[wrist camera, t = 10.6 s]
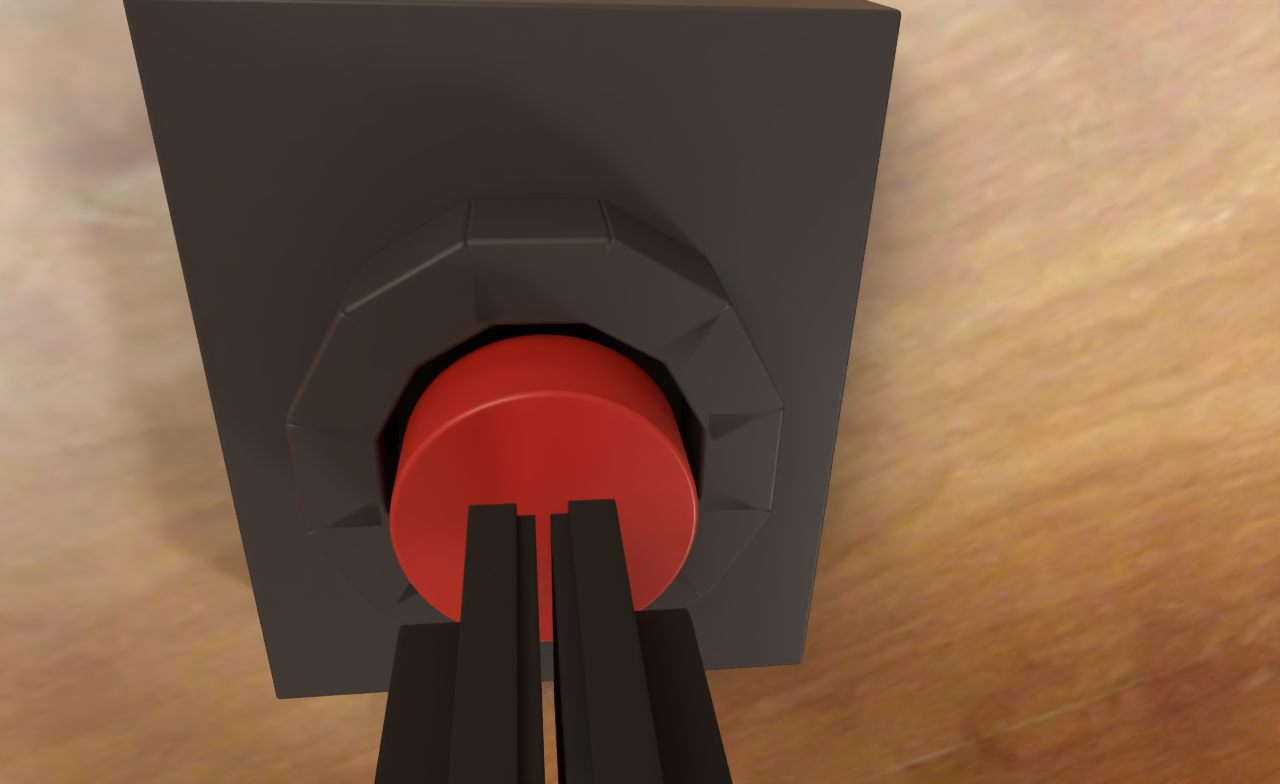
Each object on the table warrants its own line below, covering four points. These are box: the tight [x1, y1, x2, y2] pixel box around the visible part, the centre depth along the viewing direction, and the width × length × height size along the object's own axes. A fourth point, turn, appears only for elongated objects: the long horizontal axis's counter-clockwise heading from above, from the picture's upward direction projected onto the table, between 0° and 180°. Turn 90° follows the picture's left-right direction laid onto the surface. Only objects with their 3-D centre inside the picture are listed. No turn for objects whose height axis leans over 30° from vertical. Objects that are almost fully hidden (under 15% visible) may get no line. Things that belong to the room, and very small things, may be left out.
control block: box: [123, 0, 901, 699], centre depth 15 cm, size 12×10×4 cm
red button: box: [389, 334, 698, 642], centre depth 13 cm, size 4×4×2 cm
